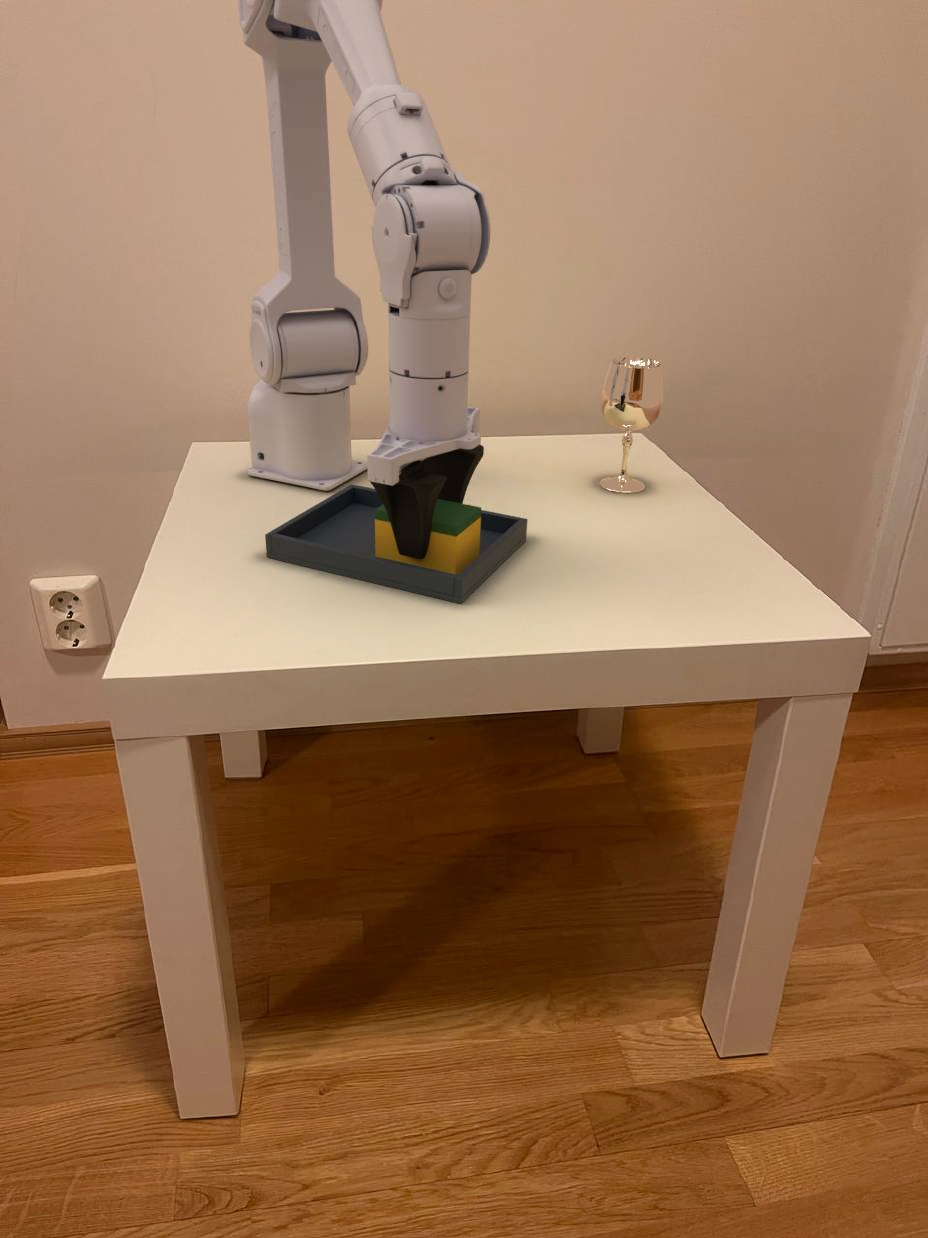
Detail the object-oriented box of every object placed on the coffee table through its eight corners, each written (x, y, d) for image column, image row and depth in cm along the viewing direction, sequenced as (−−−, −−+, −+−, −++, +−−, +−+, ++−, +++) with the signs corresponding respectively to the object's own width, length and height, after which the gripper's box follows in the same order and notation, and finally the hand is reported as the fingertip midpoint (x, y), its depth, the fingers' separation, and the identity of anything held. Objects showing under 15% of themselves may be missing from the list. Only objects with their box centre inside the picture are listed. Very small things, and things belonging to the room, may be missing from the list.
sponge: (375, 560, 72) (374, 509, 69) (402, 540, 75) (402, 491, 73) (455, 579, 69) (456, 526, 67) (479, 557, 73) (481, 507, 71)
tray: (266, 557, 73) (264, 534, 72) (351, 504, 83) (351, 483, 82) (461, 604, 67) (461, 579, 66) (526, 540, 77) (527, 518, 76)
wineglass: (655, 480, 92) (672, 359, 86) (646, 498, 87) (663, 372, 81) (599, 472, 93) (611, 353, 87) (587, 490, 88) (599, 365, 83)
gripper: (433, 400, 58) (430, 590, 64) (518, 357, 69) (508, 522, 76) (338, 385, 60) (345, 570, 67) (435, 346, 72) (433, 507, 78)
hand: (426, 543), depth 71 cm, fingers closed on sponge, 4 cm apart
